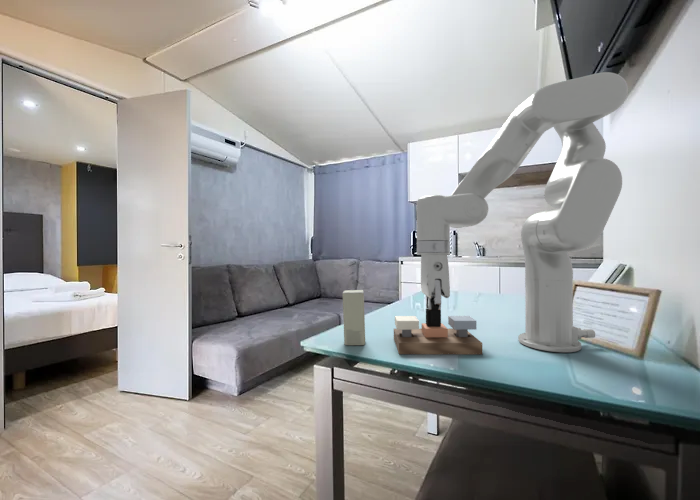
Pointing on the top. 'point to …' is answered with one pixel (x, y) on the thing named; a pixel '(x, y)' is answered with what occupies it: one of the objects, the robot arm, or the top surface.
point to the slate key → (462, 324)
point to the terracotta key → (434, 331)
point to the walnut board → (436, 343)
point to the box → (353, 317)
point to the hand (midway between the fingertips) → (433, 325)
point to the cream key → (406, 324)
